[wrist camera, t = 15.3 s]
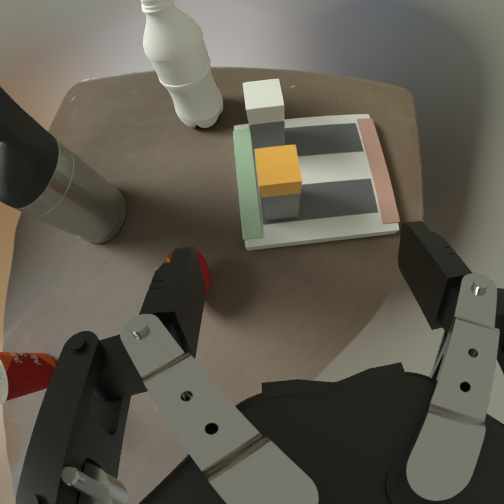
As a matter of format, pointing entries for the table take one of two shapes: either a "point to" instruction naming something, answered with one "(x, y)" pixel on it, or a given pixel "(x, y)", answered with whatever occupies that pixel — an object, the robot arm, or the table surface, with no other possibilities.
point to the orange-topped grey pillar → (279, 181)
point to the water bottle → (181, 62)
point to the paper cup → (24, 373)
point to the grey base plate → (313, 174)
